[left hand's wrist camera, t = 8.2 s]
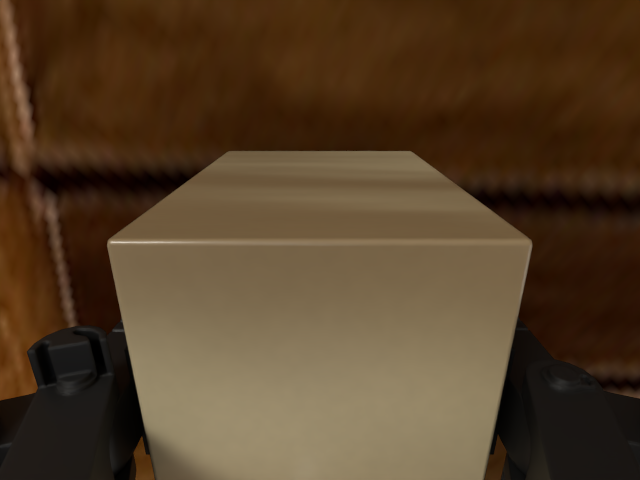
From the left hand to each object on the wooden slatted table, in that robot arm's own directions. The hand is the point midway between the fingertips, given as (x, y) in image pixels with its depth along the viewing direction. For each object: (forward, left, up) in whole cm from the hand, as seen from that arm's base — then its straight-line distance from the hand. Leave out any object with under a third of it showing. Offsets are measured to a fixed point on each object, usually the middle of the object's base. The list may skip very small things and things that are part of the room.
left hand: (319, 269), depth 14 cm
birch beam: (0, +13, 0) cm, 13 cm away
